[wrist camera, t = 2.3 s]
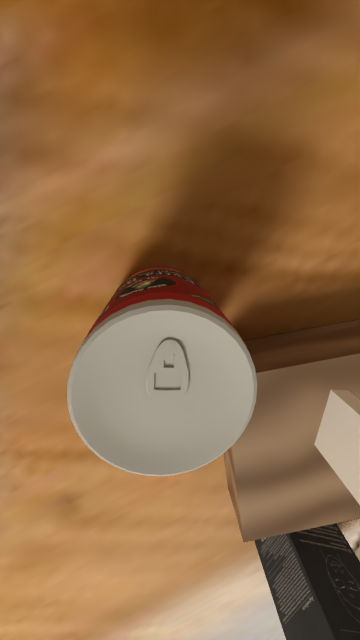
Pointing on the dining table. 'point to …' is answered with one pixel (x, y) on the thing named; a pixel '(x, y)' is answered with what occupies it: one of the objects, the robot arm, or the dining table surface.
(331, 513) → the brown wooden block
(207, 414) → the canned food
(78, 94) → the dining table surface
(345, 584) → the box
